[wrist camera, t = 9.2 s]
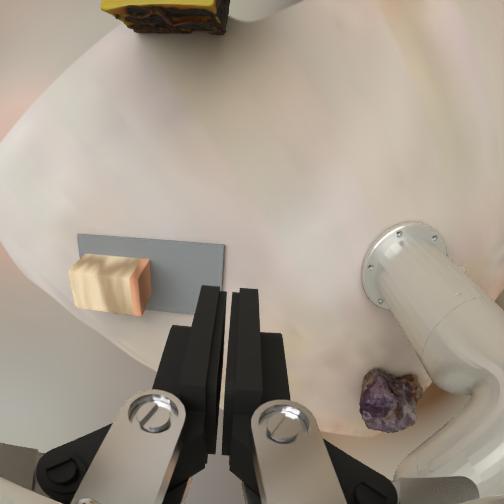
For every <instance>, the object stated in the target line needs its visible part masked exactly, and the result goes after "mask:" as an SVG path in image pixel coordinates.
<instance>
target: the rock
mask: <svg viewBox="0 0 504 504" xmlns="http://www.w3.org/2000/svg"><path fill="white" fill-rule="evenodd" d="M421 397H423V389H422V388H421V386H420V384H419V383H418V381H417V376H416V375H413V374H408V375H404V376H402V377H401V378H400V377H398V378H395V377H394V376H392V375H391V374H388V375H387V374H386V372H384V371H380V370H379V369H374V370H372V371H369V372H368V373H367V374H366V375H365V377H364V380H363V385H362V394H361V399H360V404H359V405H360V413H361V415H362V419H363V420H364V421H365V424H366V426H367V427H368V428H369V429H373V430H380V431H382V432H383V431H384V432H387V433H390V432H392V433H393V432H398V431H399V430H403V429H406V428H407V427H409V426H412V425H413V424H415V420H416V418H417V416H416V412H415V406H416V404H417V401H418V399H420V398H421Z"/></svg>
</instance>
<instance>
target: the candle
mask: <svg viewBox="0 0 504 504" xmlns="http://www.w3.org/2000/svg"><path fill="white" fill-rule="evenodd" d="M229 4H230V0H102V4H101V10H102V11H105V12H107V13H110V14H112V15H113V16H114V17H116V19H119V20H121V21H123V22H124V24H125V25H127V27H128V28H130V29H133V30H134V32H137V33H181V34H183V33H185V32H186V33H187V34H190V33H191V32H192V31H196V30H197V31H201V32H207V33H210V34H216V35H224V34H225V32H226V31H225V26H226V23H227V18H228V14H229Z"/></svg>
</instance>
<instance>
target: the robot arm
mask: <svg viewBox="0 0 504 504" xmlns="http://www.w3.org/2000/svg"><path fill="white" fill-rule="evenodd" d="M369 265H370V266H369ZM465 272H466V269H465V267H464V266H457V265H456V264H455V263H454V262H453V261H452V260H451V259H449V258H448V257H447V251H446V246H445V243H444V241H443V239H442V238H441V236H440V235H439V234H438V233H437V232H436V231H435V230H434V229H433V228H431V227H430V226H428V225H426V224H423V223H419V222H405V223H402V224H398V225H396V226H394V227H392V228H390V229H388V230H387V231H386V232H384V233H383V234H381V235H380V236H379V238H378V239H377V240H376V241H375V242H374V243H373V244H372V246H371V247H370V249H369V251H368V253H367V255H366V257H365V259H364V263H363V266H362V283H363V287H364V290H365V291H366V293H367V295H368V297H369V298H370V299H371V301H372V302H373V303H374V304H376V305H377V306H379V307H381V308H383V309H387V310H391V311H392V313H393V315H394V316H395V318H396V320H397V321H398V323H399V325H400V326H401V328H402V330H403V331H404V333H405V335H406V336H407V338H408V340H409V342H410V343H411V345H412V347H413V348H414V350H415V352H416V354H417V356H418V357H419V359H420V361H421V363H422V364H423V366H424V368H425V370H426V372H427V373H428V375H429V377H430V378H431V380H432V381H433V382H434V383H435V384H436V385H437V386H438V387H440V388H441V389H443V390H446V391H448V392H451V393H455V394H461V395H469V396H471V399H470V400H469V402H468V403H467V404H466V405H465V406H464V407H463V408H462V409H461V410H460V411H459V412H458V413H457V415H456V416H455V417H453V418H452V419H451V420H450V421H449V422H448V423H447V424H445V425H444V426H443V427H442V428H441V429H439V430H438V431H437V432H436V433H435V434H433V435H432V436H431V437H430V438H429V439H427V440H426V441H425V442H423V443H422V444H421V445H420V446H419V447H417V448H416V449H415V450H414V451H412V452H411V453H410V454H409V455H408V456H407V457H406V458H405V459H404V460H403V461H402V462H401V463H400V465H399V467H398V468H397V470H396V472H395V475H394V478H393V481H390V480H389V479H387V478H386V477H385V476H383V475H381V474H379V473H378V472H376V471H374V470H373V469H371V468H369V467H368V466H366V465H364V464H363V463H361V462H359V461H358V460H356V459H354V458H352V457H351V456H350V455H348V454H346V453H345V452H343V451H342V450H340V449H338V448H337V447H335V446H334V445H332V444H330V443H329V442H328V441H326V440H325V439H323V438H322V435H321V433H320V430H319V427H318V425H317V422H316V419H315V418H314V416H313V414H312V413H311V412H310V411H309V410H308V409H307V408H306V407H305V406H303V405H301V404H299V403H297V402H293V401H291V400H290V392H289V384H288V376H287V368H286V361H285V353H284V345H283V338H282V334H281V333H265V332H260V319H259V297H258V289H248V288H240V293H237V292H232V304H231V316H230V329H229V341H228V354H227V367H226V381H225V397H224V417H223V437H222V455H229V465H230V471H231V472H232V473H234V474H235V475H236V476H237V477H238V478H239V479H240V480H242V482H241V485H242V490H243V496H244V502H245V504H504V311H503V310H502V309H501V308H500V307H499V306H498V305H497V304H496V303H495V302H494V301H493V300H492V299H491V298H490V297H489V296H488V295H487V294H486V293H485V292H484V291H483V290H482V289H481V288H480V287H479V286H478V285H477V284H476V283H475V282H474V281H473V280H472V279H471V278H470V277H469V276H468V275H467V274H466V273H465ZM226 297H227V292H224V291H220V286H209V285H202V286H201V290H200V294H199V298H198V302H197V306H196V310H195V315H194V319H193V323H192V327H188V326H178V325H172V327H171V329H170V332H169V335H168V339H167V342H166V345H165V348H164V351H163V355H162V358H161V361H160V365H159V368H158V371H157V375H156V378H155V382H154V385H153V388H152V390H144V391H141V392H138V393H136V394H134V395H132V396H131V397H129V398H128V399H127V401H126V402H125V403H124V404H123V406H122V408H121V410H120V412H119V413H118V415H117V417H116V419H115V421H114V422H113V423H112V424H109V425H107V426H105V427H103V428H101V429H99V430H97V431H94V432H92V433H90V434H87V435H85V436H83V437H81V438H78V439H76V440H74V441H71V442H69V443H67V444H64V445H62V446H59V447H57V448H55V449H52V450H50V451H48V452H47V453H40V452H39V451H38V450H37V449H33V448H27V447H21V446H15V445H9V444H4V443H0V504H185V501H186V498H187V495H188V491H189V488H190V485H191V482H192V476H193V475H195V474H196V473H197V472H199V471H201V470H202V469H204V468H205V464H206V463H207V458H208V454H215V453H216V440H217V428H218V415H219V403H220V391H221V380H222V368H223V352H224V333H225V314H226Z"/></svg>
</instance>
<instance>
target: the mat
mask: <svg viewBox="0 0 504 504" xmlns="http://www.w3.org/2000/svg"><path fill="white" fill-rule="evenodd" d="M77 240H78V248H79V255H80V259H81V258H82V257H83V256H84V255H85V254H97V255H108V256H119V257H130V258H141V259H150V274H151V289H152V295H151V297H150V299H149V301H148V303H147V306H146V308H145V309H149V310H158V311H167V312H177V313H187V314H195V310H196V306H197V302H198V298H199V294H200V290H201V286H202V285H209V286H220V291H222V273H223V255H224V245H222V244H209V243H196V242H183V241H170V240H157V239H143V238H130V237H116V236H102V235H88V234H77Z"/></svg>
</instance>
